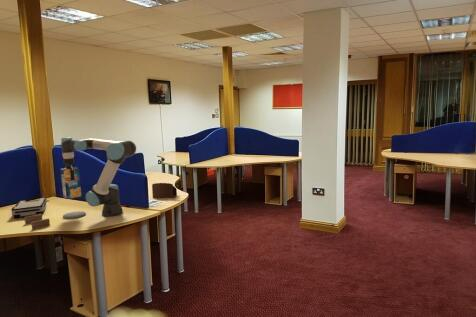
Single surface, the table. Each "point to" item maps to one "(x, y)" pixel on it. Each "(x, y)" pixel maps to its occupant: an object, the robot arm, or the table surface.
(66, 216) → the slate coaster
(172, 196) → the letter holder
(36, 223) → the walnut slot
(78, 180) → the beverage box
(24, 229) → the table surface
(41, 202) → the office tray
